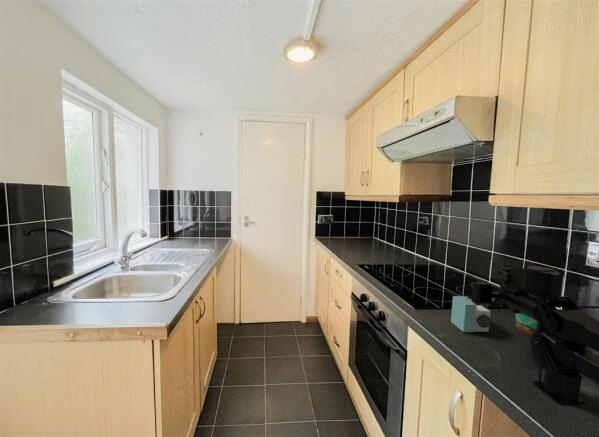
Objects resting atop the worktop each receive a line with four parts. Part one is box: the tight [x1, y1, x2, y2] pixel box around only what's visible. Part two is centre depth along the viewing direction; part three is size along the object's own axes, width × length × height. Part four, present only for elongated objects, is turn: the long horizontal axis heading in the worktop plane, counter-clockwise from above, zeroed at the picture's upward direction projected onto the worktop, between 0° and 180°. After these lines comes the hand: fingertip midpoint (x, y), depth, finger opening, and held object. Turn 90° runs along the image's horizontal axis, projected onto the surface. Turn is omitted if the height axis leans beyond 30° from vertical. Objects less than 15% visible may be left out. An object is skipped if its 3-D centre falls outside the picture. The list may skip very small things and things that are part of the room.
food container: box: [515, 314, 537, 338], centre depth 88 cm, size 12×6×10 cm, turn 21°
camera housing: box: [464, 296, 492, 333], centre depth 94 cm, size 13×5×8 cm, turn 1°
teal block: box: [450, 295, 477, 333], centre depth 91 cm, size 7×4×9 cm, turn 1°
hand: (485, 284), depth 86 cm, fingers open, 9 cm apart
